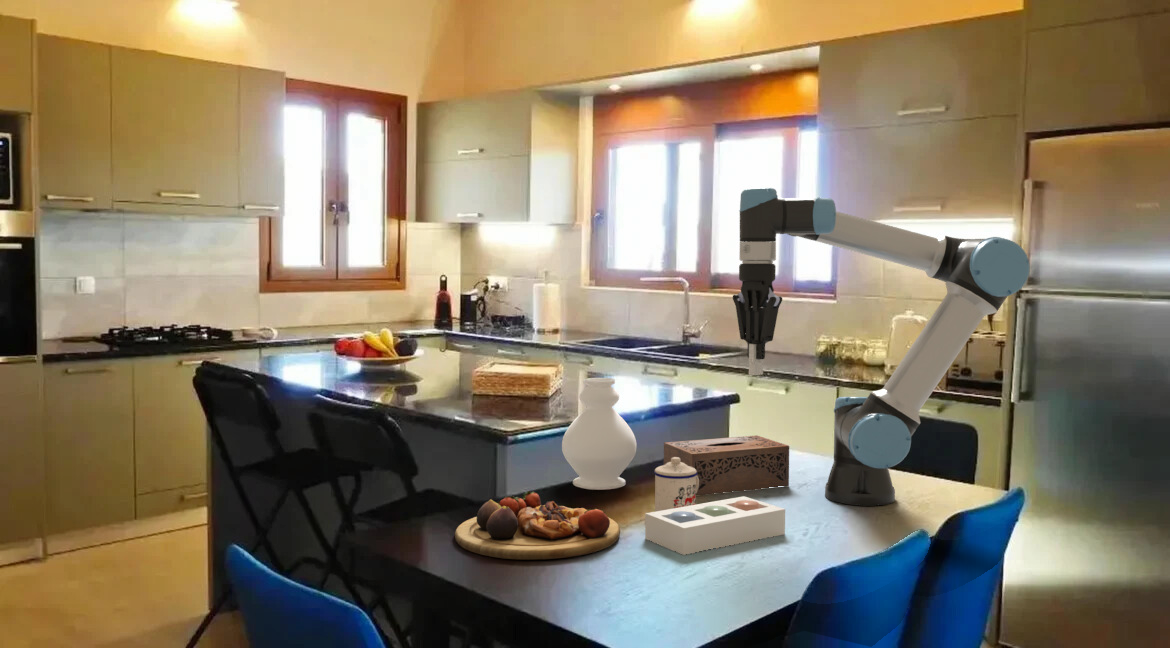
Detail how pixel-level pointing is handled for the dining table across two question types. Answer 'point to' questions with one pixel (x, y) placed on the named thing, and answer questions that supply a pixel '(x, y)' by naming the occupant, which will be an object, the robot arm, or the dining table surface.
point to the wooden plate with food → (535, 530)
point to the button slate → (682, 516)
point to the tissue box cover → (733, 462)
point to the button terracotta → (746, 505)
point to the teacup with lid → (675, 485)
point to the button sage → (715, 510)
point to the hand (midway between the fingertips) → (755, 374)
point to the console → (714, 526)
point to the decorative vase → (599, 439)
